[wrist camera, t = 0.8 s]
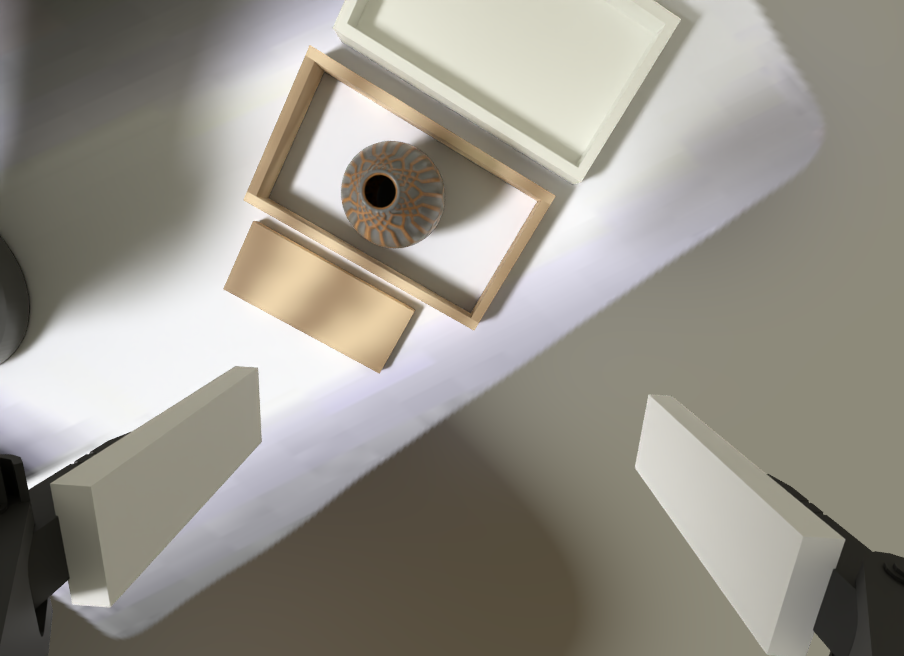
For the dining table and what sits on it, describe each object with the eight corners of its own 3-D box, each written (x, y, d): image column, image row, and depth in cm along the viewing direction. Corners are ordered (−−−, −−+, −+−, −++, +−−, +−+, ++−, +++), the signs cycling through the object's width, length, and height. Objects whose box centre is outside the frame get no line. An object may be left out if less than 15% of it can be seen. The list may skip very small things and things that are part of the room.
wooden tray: (256, 201, 33) (243, 200, 31) (319, 56, 30) (309, 45, 28) (473, 324, 35) (474, 330, 33) (550, 197, 32) (555, 195, 30)
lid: (228, 287, 34) (223, 289, 34) (258, 221, 33) (253, 221, 32) (381, 370, 36) (379, 373, 35) (415, 309, 34) (414, 311, 34)
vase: (462, 178, 32) (462, 162, 24) (422, 260, 34) (408, 273, 25) (379, 134, 31) (348, 100, 23) (342, 219, 33) (300, 218, 24)
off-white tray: (342, 42, 30) (332, 28, 28) (419, -132, 28) (415, -162, 25) (573, 184, 32) (581, 182, 30) (665, 34, 29) (681, 19, 27)
